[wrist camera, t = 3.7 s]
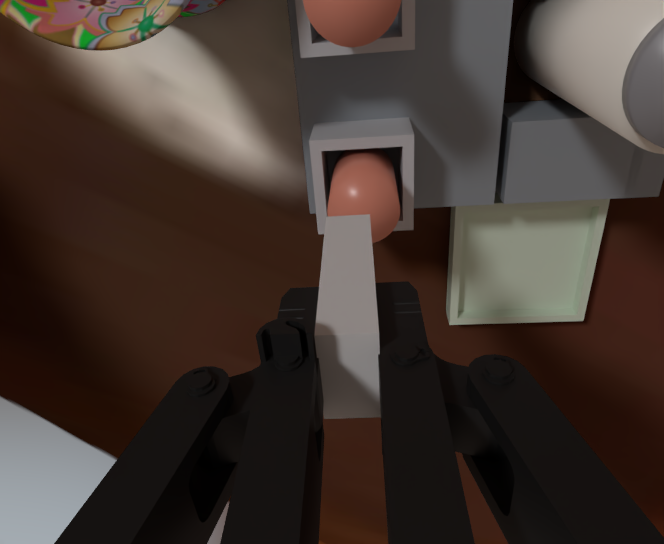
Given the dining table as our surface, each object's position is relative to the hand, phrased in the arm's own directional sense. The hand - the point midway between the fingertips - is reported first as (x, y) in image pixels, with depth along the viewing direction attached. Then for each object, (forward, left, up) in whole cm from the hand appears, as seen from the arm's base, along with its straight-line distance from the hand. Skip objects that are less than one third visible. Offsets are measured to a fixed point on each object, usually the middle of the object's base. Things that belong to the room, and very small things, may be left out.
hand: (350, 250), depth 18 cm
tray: (+10, -8, -13) cm, 18 cm away
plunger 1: (+1, +8, -6) cm, 10 cm away
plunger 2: (+1, 0, -8) cm, 8 cm away
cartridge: (+11, +5, -13) cm, 18 cm away
